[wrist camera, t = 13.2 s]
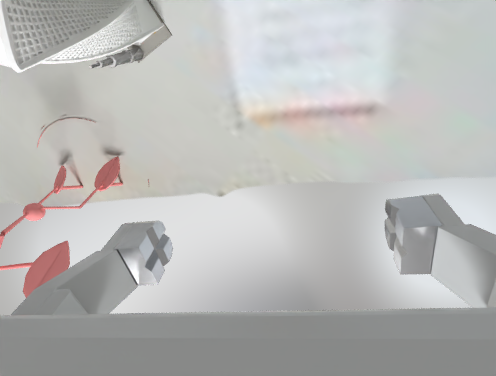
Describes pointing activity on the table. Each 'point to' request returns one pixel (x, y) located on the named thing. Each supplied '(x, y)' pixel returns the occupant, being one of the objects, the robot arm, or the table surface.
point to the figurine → (58, 255)
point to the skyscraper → (77, 32)
